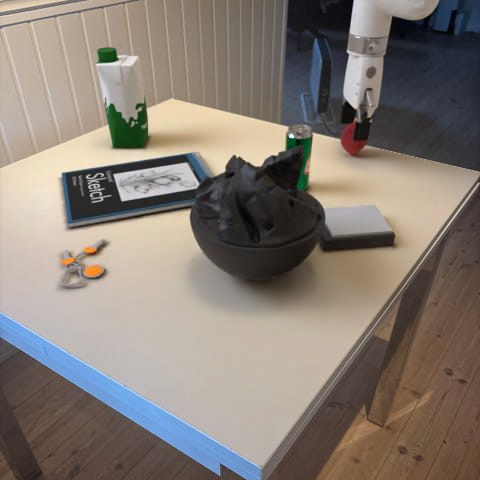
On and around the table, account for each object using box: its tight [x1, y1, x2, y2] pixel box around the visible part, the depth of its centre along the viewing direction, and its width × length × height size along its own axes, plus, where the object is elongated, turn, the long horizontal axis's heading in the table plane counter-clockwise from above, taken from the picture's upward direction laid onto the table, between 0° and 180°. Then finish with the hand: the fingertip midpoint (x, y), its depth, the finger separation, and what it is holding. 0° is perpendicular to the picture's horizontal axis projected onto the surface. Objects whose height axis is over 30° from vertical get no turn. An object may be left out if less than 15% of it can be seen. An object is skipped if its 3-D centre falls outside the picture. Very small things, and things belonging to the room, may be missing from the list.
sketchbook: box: [61, 151, 216, 229], centre depth 98 cm, size 22×30×2 cm
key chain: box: [59, 238, 106, 287], centre depth 79 cm, size 13×7×1 cm, turn 7°
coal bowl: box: [189, 145, 326, 281], centre depth 72 cm, size 20×20×19 cm
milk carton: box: [95, 46, 149, 149], centre depth 110 cm, size 9×9×20 cm
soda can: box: [284, 123, 314, 191], centre depth 95 cm, size 5×5×12 cm
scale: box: [318, 204, 397, 252], centre depth 85 cm, size 12×10×3 cm
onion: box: [340, 117, 368, 156], centre depth 108 cm, size 6×6×8 cm
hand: (353, 131), depth 107 cm, fingers open, 9 cm apart
